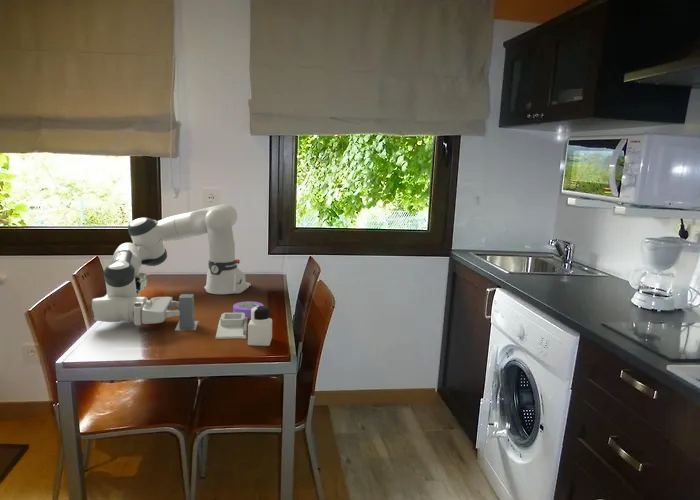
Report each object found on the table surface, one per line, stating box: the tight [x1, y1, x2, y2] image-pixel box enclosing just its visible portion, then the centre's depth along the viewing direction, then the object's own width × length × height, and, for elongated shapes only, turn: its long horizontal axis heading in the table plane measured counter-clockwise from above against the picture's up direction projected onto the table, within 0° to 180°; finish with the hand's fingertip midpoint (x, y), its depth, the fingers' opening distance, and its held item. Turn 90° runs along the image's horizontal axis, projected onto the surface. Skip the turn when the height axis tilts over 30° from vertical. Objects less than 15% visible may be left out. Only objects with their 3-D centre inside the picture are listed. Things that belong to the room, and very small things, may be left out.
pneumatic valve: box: [135, 272, 148, 297], centre depth 205 cm, size 6×12×12 cm, turn 5°
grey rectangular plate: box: [174, 320, 200, 332], centre depth 179 cm, size 10×7×1 cm
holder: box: [215, 312, 248, 340], centre depth 177 cm, size 20×10×4 cm, turn 10°
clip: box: [178, 293, 195, 328], centre depth 178 cm, size 4×4×11 cm
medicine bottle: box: [247, 305, 273, 347], centre depth 166 cm, size 7×7×12 cm
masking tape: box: [232, 301, 264, 320], centre depth 195 cm, size 12×12×4 cm
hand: (182, 308), depth 177 cm, fingers open, 8 cm apart
